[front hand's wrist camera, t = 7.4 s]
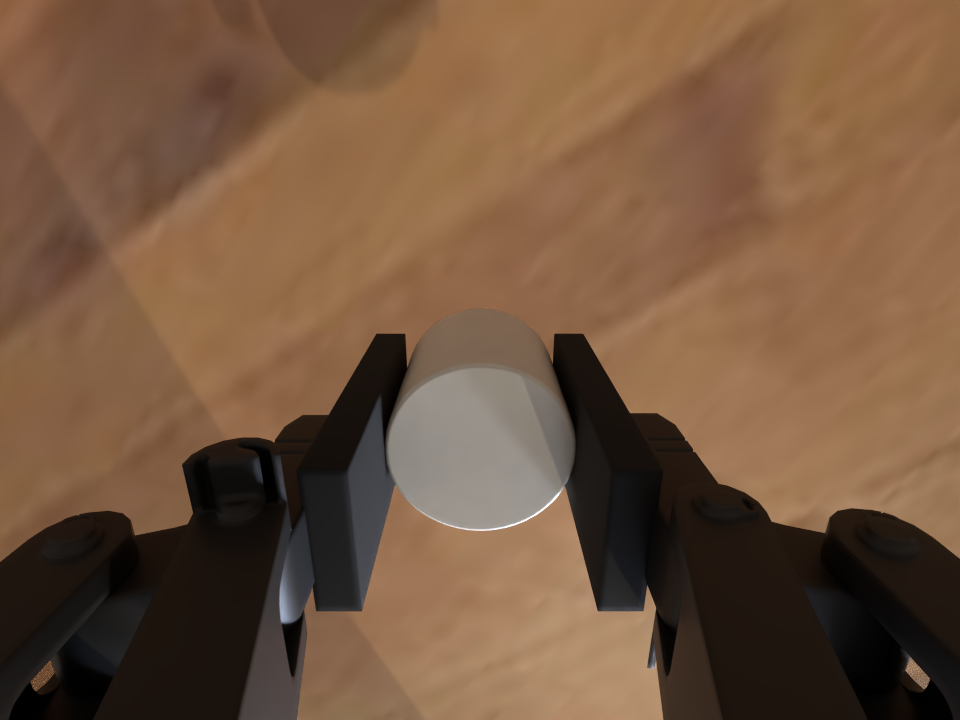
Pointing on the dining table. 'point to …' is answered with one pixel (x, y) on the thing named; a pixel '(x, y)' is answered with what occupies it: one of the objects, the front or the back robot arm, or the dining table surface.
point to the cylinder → (480, 424)
